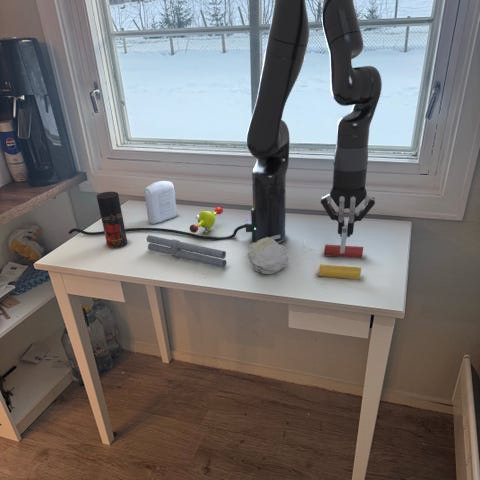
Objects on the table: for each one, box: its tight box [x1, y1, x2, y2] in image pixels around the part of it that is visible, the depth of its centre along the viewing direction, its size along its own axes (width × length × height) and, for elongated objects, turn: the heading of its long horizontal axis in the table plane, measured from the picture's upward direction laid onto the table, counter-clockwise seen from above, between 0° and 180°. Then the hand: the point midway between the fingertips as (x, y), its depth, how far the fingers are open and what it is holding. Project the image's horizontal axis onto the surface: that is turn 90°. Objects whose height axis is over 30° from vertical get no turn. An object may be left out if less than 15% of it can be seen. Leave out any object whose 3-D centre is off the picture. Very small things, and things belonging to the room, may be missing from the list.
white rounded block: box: [143, 180, 178, 225], centre depth 152 cm, size 10×4×12 cm, turn 134°
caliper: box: [340, 218, 349, 253], centre depth 116 cm, size 20×1×6 cm, turn 166°
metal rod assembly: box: [146, 234, 227, 268], centre depth 128 cm, size 26×3×5 cm, turn 60°
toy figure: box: [189, 206, 224, 234], centre depth 142 cm, size 18×6×7 cm, turn 154°
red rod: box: [323, 243, 364, 259], centre depth 126 cm, size 10×3×3 cm, turn 75°
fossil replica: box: [247, 237, 290, 275], centre depth 120 cm, size 12×8×10 cm
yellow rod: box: [318, 263, 362, 281], centre depth 116 cm, size 10×3×3 cm, turn 75°
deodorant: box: [96, 191, 128, 249], centre depth 135 cm, size 6×6×15 cm
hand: (345, 235), depth 117 cm, fingers closed on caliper, 1 cm apart
